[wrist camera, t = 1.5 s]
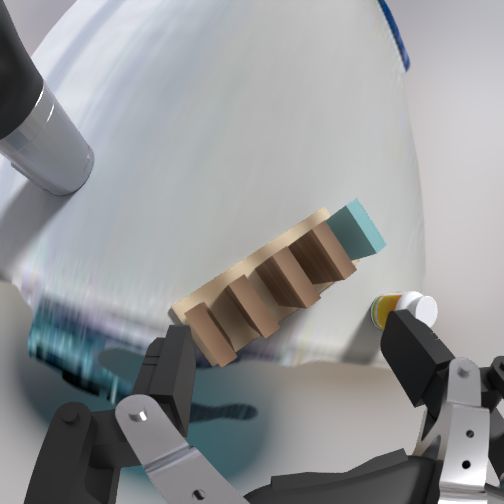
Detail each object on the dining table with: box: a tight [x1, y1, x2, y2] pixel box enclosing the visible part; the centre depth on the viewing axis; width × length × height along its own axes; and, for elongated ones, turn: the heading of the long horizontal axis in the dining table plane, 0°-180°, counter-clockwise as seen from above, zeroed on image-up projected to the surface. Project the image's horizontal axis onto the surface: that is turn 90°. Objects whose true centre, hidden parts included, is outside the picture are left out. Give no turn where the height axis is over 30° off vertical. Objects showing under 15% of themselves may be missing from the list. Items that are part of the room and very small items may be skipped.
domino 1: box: [184, 302, 237, 368], centre depth 28 cm, size 2×6×11 cm, turn 34°
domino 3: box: [255, 246, 321, 309], centre depth 30 cm, size 2×6×11 cm, turn 34°
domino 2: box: [225, 274, 280, 339], centre depth 29 cm, size 2×6×11 cm, turn 35°
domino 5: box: [325, 198, 387, 261], centre depth 32 cm, size 2×6×11 cm, turn 35°
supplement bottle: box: [371, 291, 438, 330], centre depth 33 cm, size 5×5×10 cm
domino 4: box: [287, 220, 357, 285], centre depth 31 cm, size 2×6×11 cm, turn 35°
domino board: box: [171, 207, 359, 367], centre depth 36 cm, size 24×9×1 cm, turn 125°
